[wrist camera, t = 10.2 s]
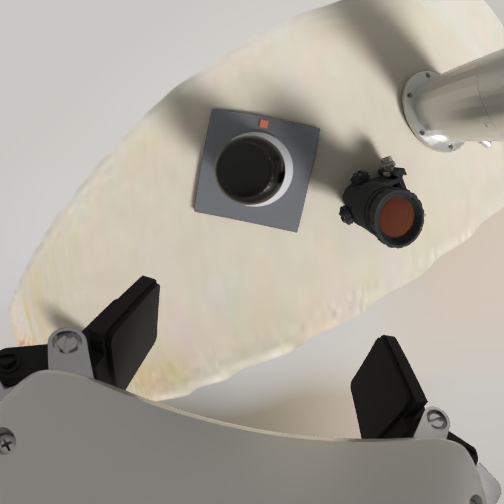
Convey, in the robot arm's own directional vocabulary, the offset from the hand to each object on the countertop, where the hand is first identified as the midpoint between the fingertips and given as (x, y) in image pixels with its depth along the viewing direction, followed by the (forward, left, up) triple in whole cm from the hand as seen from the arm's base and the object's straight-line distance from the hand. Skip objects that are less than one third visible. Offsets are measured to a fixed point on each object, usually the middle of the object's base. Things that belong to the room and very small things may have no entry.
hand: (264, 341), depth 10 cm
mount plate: (+4, -5, -27) cm, 28 cm away
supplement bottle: (+3, -5, -26) cm, 26 cm away
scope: (-11, -5, -27) cm, 30 cm away
